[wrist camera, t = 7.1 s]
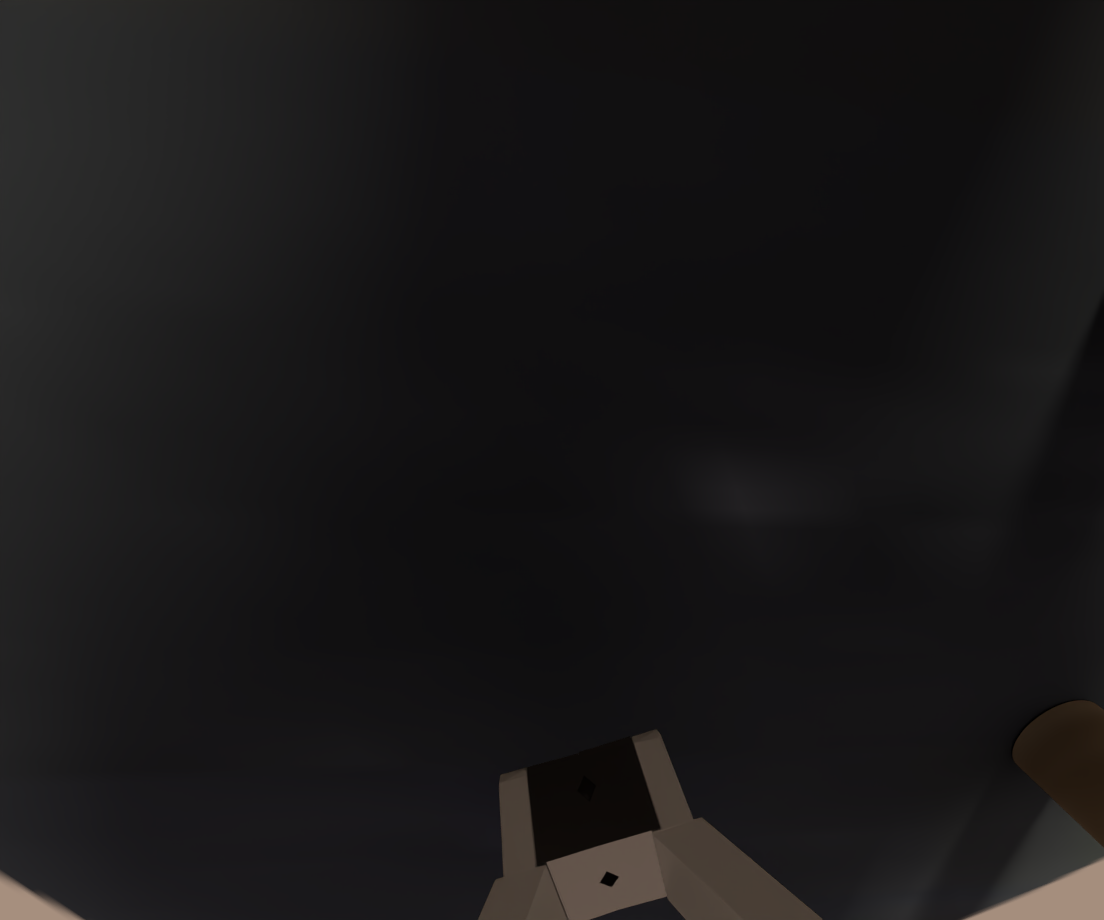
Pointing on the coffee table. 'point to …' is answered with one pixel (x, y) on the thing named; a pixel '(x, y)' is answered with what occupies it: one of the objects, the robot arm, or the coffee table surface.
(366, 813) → the coffee table surface
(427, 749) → the coffee table surface
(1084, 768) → the post
